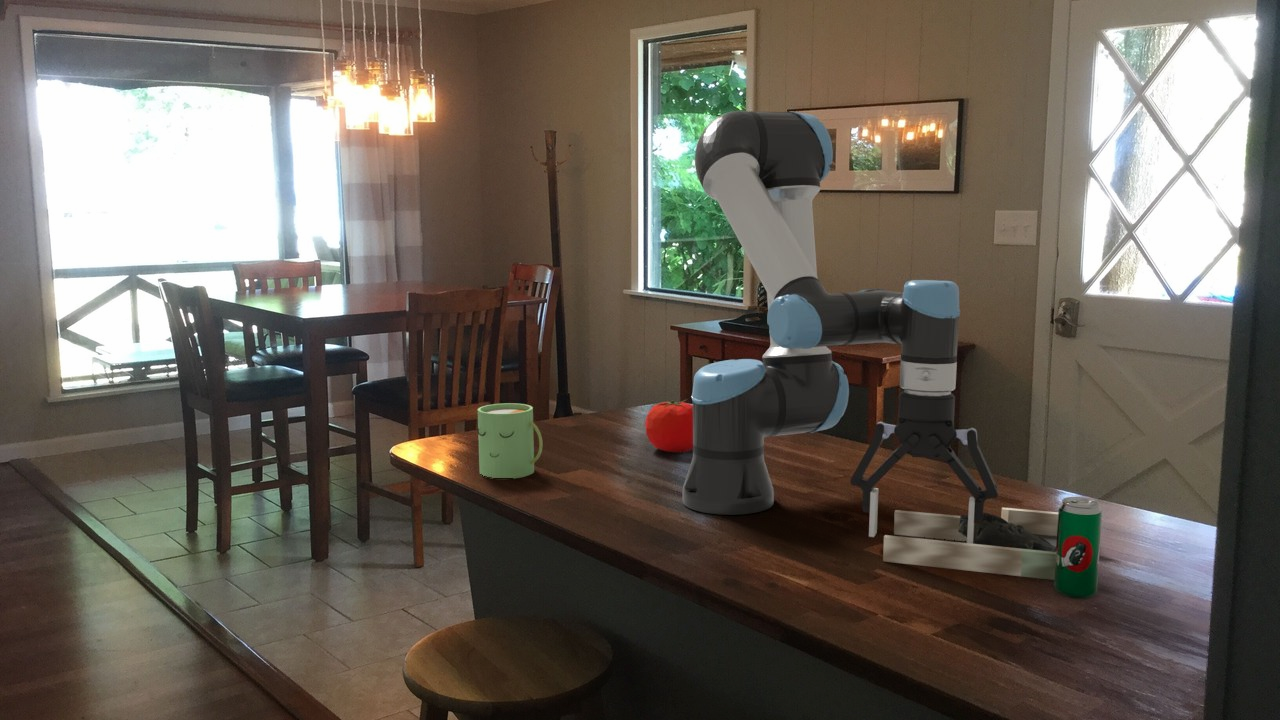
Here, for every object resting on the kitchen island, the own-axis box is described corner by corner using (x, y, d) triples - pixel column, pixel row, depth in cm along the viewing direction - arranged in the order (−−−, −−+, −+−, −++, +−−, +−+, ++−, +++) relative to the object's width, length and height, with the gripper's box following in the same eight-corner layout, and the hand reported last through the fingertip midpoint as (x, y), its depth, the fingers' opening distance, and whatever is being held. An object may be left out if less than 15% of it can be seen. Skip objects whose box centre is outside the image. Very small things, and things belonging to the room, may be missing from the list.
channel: (883, 561, 146) (883, 537, 145) (899, 520, 164) (900, 498, 164) (1094, 584, 136) (1096, 558, 136) (1086, 537, 155) (1087, 515, 154)
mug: (468, 476, 192) (466, 412, 190) (496, 463, 202) (495, 401, 200) (529, 482, 187) (527, 417, 186) (555, 469, 197) (554, 406, 195)
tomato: (713, 448, 212) (714, 398, 211) (685, 460, 203) (685, 408, 201) (663, 441, 219) (663, 393, 217) (633, 452, 209) (633, 402, 208)
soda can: (1105, 598, 132) (1111, 505, 130) (1069, 601, 131) (1074, 508, 129) (1080, 583, 137) (1085, 494, 135) (1045, 587, 136) (1050, 497, 134)
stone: (1054, 567, 142) (1057, 529, 142) (953, 552, 148) (956, 515, 147) (1058, 554, 148) (1061, 517, 148) (961, 539, 154) (963, 504, 154)
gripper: (833, 389, 147) (828, 537, 150) (1021, 401, 139) (1012, 557, 141) (842, 382, 154) (837, 523, 157) (1021, 393, 145) (1013, 541, 148)
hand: (920, 539), depth 149 cm, fingers open, 13 cm apart
